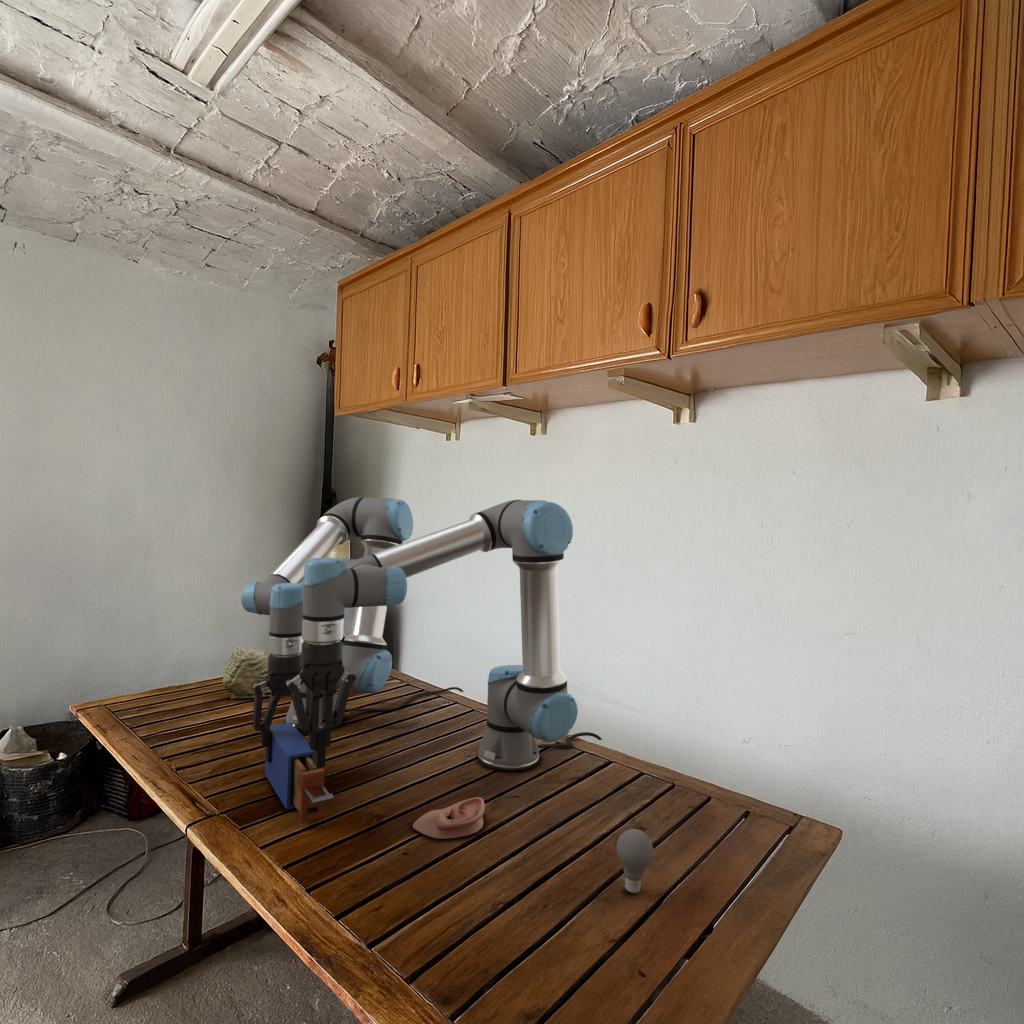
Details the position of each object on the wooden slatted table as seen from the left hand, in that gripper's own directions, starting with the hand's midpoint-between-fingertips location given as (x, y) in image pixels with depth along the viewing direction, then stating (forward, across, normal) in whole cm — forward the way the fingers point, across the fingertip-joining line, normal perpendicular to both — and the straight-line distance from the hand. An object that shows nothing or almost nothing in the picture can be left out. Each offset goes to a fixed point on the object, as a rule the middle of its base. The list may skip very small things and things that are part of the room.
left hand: (282, 756), depth 141 cm
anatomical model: (+5, +23, -36) cm, 43 cm away
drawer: (+4, 0, -17) cm, 17 cm away
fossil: (+5, +7, +64) cm, 64 cm away
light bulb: (+5, +40, -69) cm, 80 cm away
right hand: (-8, 0, -26) cm, 27 cm away
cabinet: (+5, 0, -5) cm, 7 cm away
